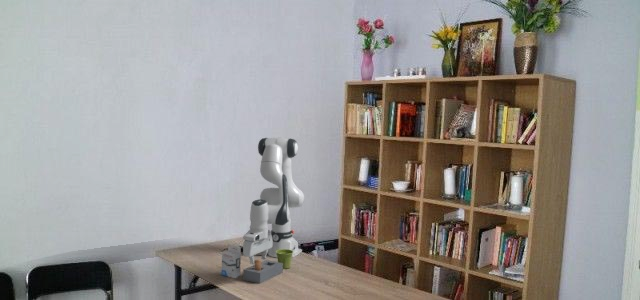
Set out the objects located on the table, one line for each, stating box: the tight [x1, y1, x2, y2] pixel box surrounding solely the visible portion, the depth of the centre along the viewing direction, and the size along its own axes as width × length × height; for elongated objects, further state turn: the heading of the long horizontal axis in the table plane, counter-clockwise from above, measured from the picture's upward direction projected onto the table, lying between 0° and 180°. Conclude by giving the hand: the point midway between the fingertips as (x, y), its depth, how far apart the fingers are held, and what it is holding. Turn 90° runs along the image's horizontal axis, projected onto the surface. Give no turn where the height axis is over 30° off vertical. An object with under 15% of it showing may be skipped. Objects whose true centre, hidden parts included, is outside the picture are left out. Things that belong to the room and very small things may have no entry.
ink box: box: [220, 243, 242, 279], centre depth 234 cm, size 8×5×15 cm, turn 61°
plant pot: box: [276, 249, 293, 270], centre depth 250 cm, size 9×9×9 cm
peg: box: [254, 259, 262, 271], centre depth 230 cm, size 3×3×9 cm
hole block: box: [242, 259, 284, 284], centre depth 235 cm, size 20×10×5 cm, turn 152°
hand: (258, 261), depth 231 cm, fingers open, 8 cm apart
